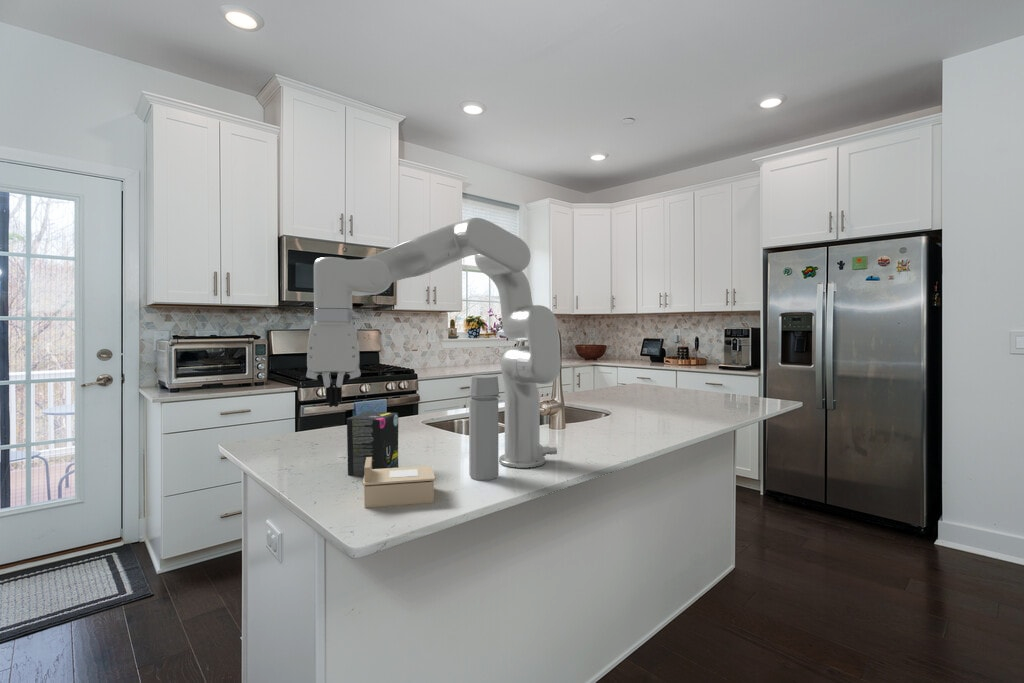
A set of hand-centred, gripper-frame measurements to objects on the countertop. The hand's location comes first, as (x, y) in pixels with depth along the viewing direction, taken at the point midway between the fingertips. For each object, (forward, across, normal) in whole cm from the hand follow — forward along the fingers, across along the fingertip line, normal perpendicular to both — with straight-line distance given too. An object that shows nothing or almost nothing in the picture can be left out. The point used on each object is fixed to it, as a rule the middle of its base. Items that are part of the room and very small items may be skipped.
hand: (334, 405), depth 107 cm
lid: (+16, -13, 0) cm, 20 cm away
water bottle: (+21, -34, -11) cm, 42 cm away
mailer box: (+21, -13, 0) cm, 25 cm away
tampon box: (+21, -7, -22) cm, 31 cm away
